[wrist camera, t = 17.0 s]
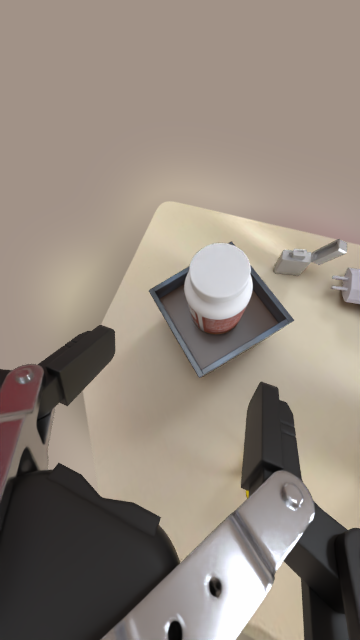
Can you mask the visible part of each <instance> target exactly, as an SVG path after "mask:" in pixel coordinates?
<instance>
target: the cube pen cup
mask: <svg viewBox="0 0 360 640" xmlns="http://www.w3.org/2000/svg"><path fill="white" fill-rule="evenodd" d="M228 244H231V245H234V244H233V243H232V241H231V242H230V243H228ZM234 246H235V245H234ZM189 267H190V266H189ZM189 267H187V268H186V269H184V270H182V271H181V272H179V273H177V274H175V275H174V276H172V277H170V278H169V279H167V280H165V281H164V282H162V283H160V284H159V285H157V286H155V287H154V288H152V289H150V290H149V292H150V294H151V296H152V297H153V299H154V301H155V303H156V304H157V306H158V308H159V309H160V311H161V313H162V315H163V316H164V318H165V320H166V322H167V323H168V325H169V327H170V328H171V330H172V332H173V334H174V335H175V337H176V339H177V341H178V342H179V344H180V346H181V347H182V349H183V351H184V353H185V354H186V356H187V358H188V360H189V361H190V363H191V365H192V366H193V368H194V370H195V372H196V373H197V375H198V377H199V378H200V377H203V376H205V375H207V374H208V373H210V372H212V371H213V370H215V369H217V368H218V367H220V366H222V365H223V364H225V363H227V362H228V361H230V360H232V359H233V358H235V357H237V356H238V355H240V354H242V353H243V352H245V351H247V350H248V349H250V348H252V347H253V346H255V345H257V344H258V343H260V342H262V341H263V340H265V339H266V338H268V337H270V336H271V335H273V334H274V333H276V332H277V331H279V330H280V329H282V328H284V327H285V326H287V325H288V324H290V323H291V322H293V321H294V319H293V318H292V317H291V316H290V314H289V313H288V312H287V311H286V309H285V308H284V307H283V306H282V304H281V303H280V302H279V301H278V299H277V298H276V297H275V295H274V294H273V293H272V292H271V290H270V289H269V288H268V287H267V285H266V284H265V283H264V282H263V280H262V279H261V278H260V277H259V275H258V274H257V273H256V272H255V270H254V269H253V268H252V266H251V265H250V267H251V272H250V275H251V278H252V283H253V290H252V295H251V298H250V300H249V303H248V305H247V307H246V309H245V311H244V313H243V315H242V317H241V319H240V321H239V322H238V324H237V325H236V326H235V327H234V328H233V329H232V330H230V331H229V332H227V333H224V334H209V333H206V332H204V331H202V330H201V329H200V328H198V327H197V325H196V324H195V323H194V321H193V318H192V315H191V312H190V309H189V306H188V303H187V300H186V297H185V292H184V284H185V279H186V276H187V274H188V272H189Z"/></svg>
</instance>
